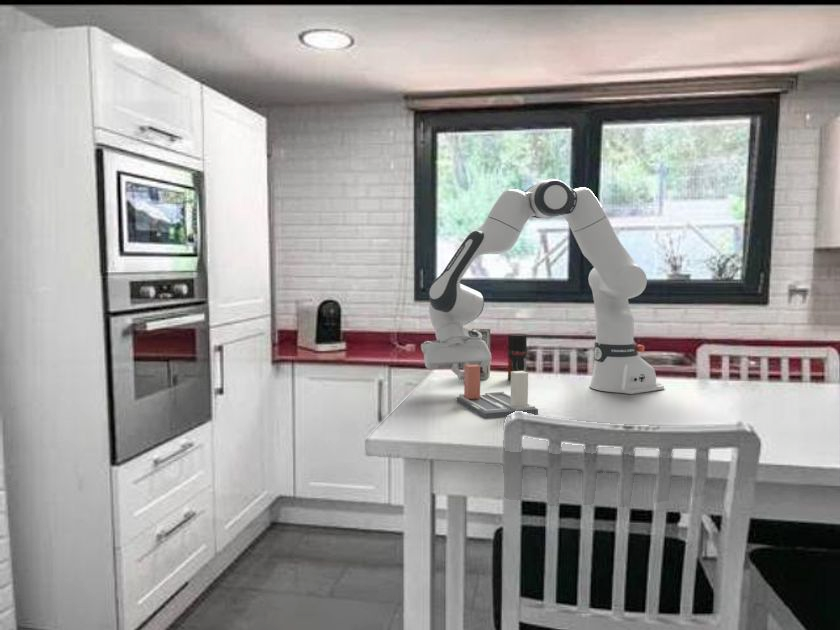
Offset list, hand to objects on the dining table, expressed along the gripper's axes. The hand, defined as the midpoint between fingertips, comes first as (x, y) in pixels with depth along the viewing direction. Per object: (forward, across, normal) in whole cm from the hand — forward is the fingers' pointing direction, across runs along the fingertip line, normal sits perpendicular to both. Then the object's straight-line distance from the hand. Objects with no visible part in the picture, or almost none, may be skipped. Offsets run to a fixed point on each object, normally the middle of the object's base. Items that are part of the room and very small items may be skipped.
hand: (464, 378), depth 185 cm
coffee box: (-16, +17, +24) cm, 33 cm away
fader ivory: (+17, +8, -10) cm, 21 cm away
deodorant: (-10, +27, +18) cm, 34 cm away
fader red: (+7, 0, -1) cm, 7 cm away
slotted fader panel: (+13, +4, -5) cm, 15 cm away
